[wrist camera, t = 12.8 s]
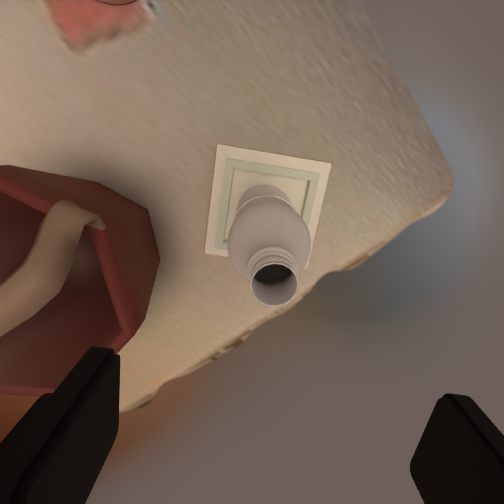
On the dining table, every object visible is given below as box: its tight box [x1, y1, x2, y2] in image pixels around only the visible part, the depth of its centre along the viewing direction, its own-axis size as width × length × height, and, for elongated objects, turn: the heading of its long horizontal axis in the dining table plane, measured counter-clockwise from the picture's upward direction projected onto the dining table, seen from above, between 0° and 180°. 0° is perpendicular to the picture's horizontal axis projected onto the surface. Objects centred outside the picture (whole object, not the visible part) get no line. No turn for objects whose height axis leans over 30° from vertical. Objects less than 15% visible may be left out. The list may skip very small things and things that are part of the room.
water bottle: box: [227, 185, 311, 307], centre depth 31 cm, size 7×7×25 cm
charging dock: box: [204, 144, 331, 269], centre depth 43 cm, size 15×15×2 cm
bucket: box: [0, 165, 160, 397], centre depth 34 cm, size 24×22×25 cm
